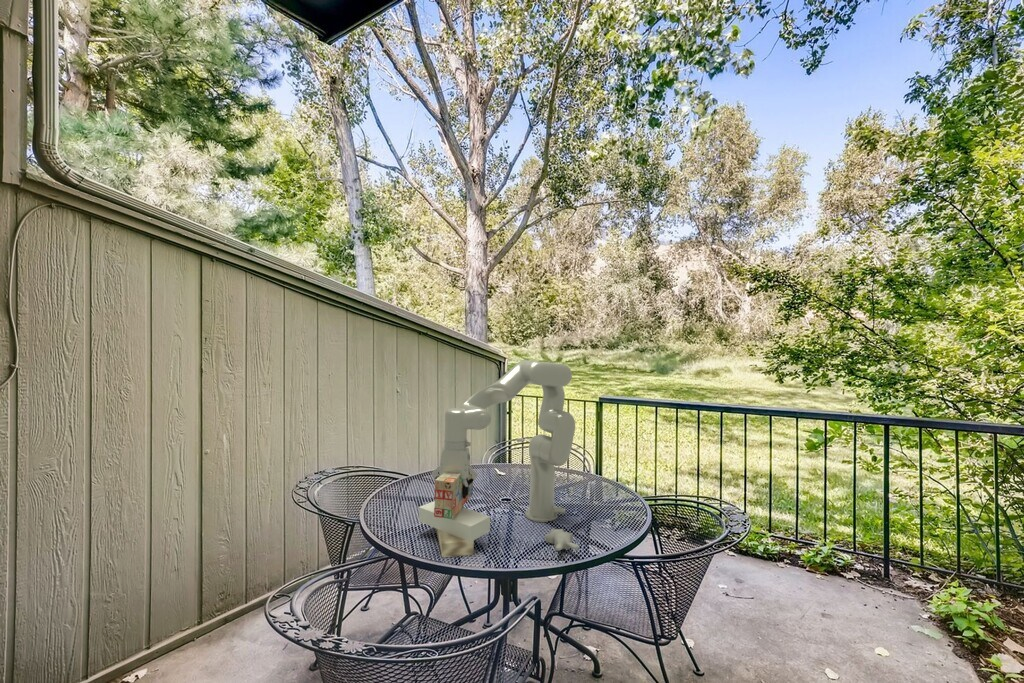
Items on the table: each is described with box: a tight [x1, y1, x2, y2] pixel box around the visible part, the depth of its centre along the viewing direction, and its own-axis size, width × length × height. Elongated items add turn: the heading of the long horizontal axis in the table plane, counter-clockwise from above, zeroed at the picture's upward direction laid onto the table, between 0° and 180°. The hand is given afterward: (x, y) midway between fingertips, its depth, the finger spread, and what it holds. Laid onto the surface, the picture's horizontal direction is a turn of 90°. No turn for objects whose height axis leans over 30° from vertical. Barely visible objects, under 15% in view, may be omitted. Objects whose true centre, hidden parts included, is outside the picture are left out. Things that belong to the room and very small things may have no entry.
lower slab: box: [435, 528, 475, 559], centre depth 154 cm, size 10×24×5 cm, turn 14°
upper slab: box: [418, 500, 491, 542], centre depth 154 cm, size 10×24×5 cm, turn 54°
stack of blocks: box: [434, 472, 474, 519], centre depth 154 cm, size 21×6×12 cm, turn 167°
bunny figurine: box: [544, 528, 580, 552], centre depth 151 cm, size 10×5×15 cm
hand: (454, 496), depth 154 cm, fingers open, 6 cm apart
